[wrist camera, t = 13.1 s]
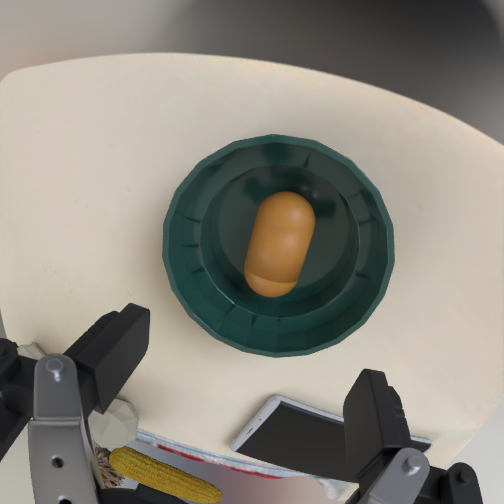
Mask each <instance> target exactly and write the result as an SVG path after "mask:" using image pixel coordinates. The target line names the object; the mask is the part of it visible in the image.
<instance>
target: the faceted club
mask: <svg viewBox="0 0 504 504" xmlns="http://www.w3.org/2000/svg"><path fill="white" fill-rule="evenodd" d="M14 344H15V345H16V347H17V351H18V354H19V355H22V356H25V357H29V358H32V359H36V360H39V359H41V358H42V357H44V356H46V355H45V354H44V353H43V352H42V350H41V349H40V348H39V347H38V345H37V344H36V343H35V342H32V343H31V345H21V346H19V347H18V345H17V344H16V342H14ZM88 419H89V424H90V429H91V435H92V438H93V439H94V440H95V441H96V442H97V444H98V445H99V446H100V447H101V448H121V447H123V446H125V445H127V444H128V443H130V442H132V441H133V440H135V439H136V434H137V427H138V420H139V417H138V415H137V414H136V412H135V410H134V408H133V406H132V404H131V403H129V402H126V401H123V400H120V399H114V400H113V401H112V403H111V404H110V406H109V407H108V409H107V410H106V412H105V413H104V415H102V414H100V413H98V412H96V411H94V410H93V411H92V413H91V414H90V416H89V417H88Z"/></svg>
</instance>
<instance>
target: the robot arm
mask: <svg viewBox="0 0 504 504" xmlns="http://www.w3.org/2000/svg"><path fill="white" fill-rule="evenodd" d="M149 327H150V310H149V309H147V308H144V307H141V306H138V305H136V304H133V303H129V304H128V305H127V306H126V307H125V308H124V309H123V310H122V311H121V312H120V313H119V312H117V311H112V312H110V313H108V314H105V315H103V316H102V317H101V318H100V319H98V320H97V321H96V322H95V323H94V325H92V326H91V327H90V328H89V329H88V331H86V332H85V333H84V334H83V335H82V336H81V337H80V338H79V339H78V340H77V341H76V342H75V343H74V344H73V345H72V346H71V347H70V348H69V349H68V350H67V351H66V352H65V353H63V354H48V355H46V356H44V357H42V358H41V359H39V360H36V359H32V358H29V357H25V356H22V355H19V354H18V351H17V347H16V345H15V344H14V343H13V342H12V341H10V340H8V339H3V338H0V462H1V460H2V459H3V457H4V456H5V454H6V453H7V451H8V450H9V448H10V447H11V445H12V444H13V443H14V441H15V440H16V438H17V437H18V435H19V434H20V433H21V431H22V430H23V428H24V427H25V426H26V424H27V423H28V446H29V460H30V470H31V479H32V486H33V493H34V499H35V504H188V503H186V502H184V501H183V500H181V499H179V498H177V497H176V496H173V495H170V494H167V493H164V492H162V491H159V490H156V489H154V488H151V487H148V486H146V485H143V484H141V483H139V484H138V486H137V488H136V490H134V489H128V488H105V485H104V482H103V479H102V475H101V472H100V469H99V466H98V462H97V458H96V454H95V449H94V445H93V440H92V435H91V429H90V424H89V419H88V417H89V416H90V414H91V413H92V411H93V410H94V411H96V412H98V413H100V414H102V415H104V413H105V412H106V410H107V409H108V407H109V406H110V404H111V403H112V401H113V400H114V399H115V397H116V396H117V394H118V393H119V391H120V390H121V388H122V387H123V386H124V384H125V383H126V381H127V380H128V378H129V377H130V375H131V374H132V373H133V371H134V370H135V368H136V367H137V366H138V364H139V363H140V361H141V360H142V358H143V357H144V355H145V353H146V351H147V348H148V344H149ZM31 417H33V420H30V419H31ZM343 418H344V430H345V443H346V459H347V479H348V481H350V482H359V488H358V489H357V490H356V491H355V492H354V493H353V494H352V495H351V497H350V498H349V499H348V500H347V501H346V502H345V504H483V501H482V496H481V492H480V488H479V484H478V480H477V476H476V473H475V471H474V470H473V469H472V467H470V466H469V465H468V464H466V463H461V462H459V463H455V464H454V465H452V467H450V468H449V469H448V470H444V469H440V468H437V467H433V466H430V465H429V461H428V459H427V457H426V456H425V455H424V454H423V453H422V452H420V451H419V450H417V449H414V448H413V444H412V440H411V436H410V432H409V429H408V425H407V421H406V418H405V414H404V410H403V409H402V403H401V400H400V396H399V395H398V394H397V392H396V391H395V390H394V388H393V387H392V386H388V383H387V380H386V376H385V373H384V372H382V371H376V370H371V369H363V370H362V372H361V373H360V375H359V376H358V378H357V380H356V382H355V383H354V385H353V386H352V388H351V390H350V391H349V393H348V395H347V396H346V398H345V401H344V405H343Z"/></svg>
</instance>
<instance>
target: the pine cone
mask: <svg viewBox="0 0 504 504" xmlns="http://www.w3.org/2000/svg"><path fill="white" fill-rule="evenodd" d="M95 449H96V450H95V454H96V458H97V462H98V466H99V469H100V472H101V475H102V479H103V482H104V485H105V488H116V487H115V486H117V485H118V486H121V485H120V484H122V481H121V479H125V478H124V475H122V474H120V473H119V472H118V471H116V470H115V469H113V467H112V466H111V465H110V464H109V463H108V461H109V459H110V458H109V456H110V454H111V453H112V452H110V451H108V449H107V450H106V451H104V450H103V449H102V448H100V449H99V448H98V449H97V447H95Z"/></svg>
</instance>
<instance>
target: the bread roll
mask: <svg viewBox="0 0 504 504" xmlns="http://www.w3.org/2000/svg"><path fill="white" fill-rule="evenodd" d="M314 227H315V215H314V211H313V209H312V207H311V205H310V204H309V202H308V201H307V200H306V199H305V198H304V197H302V196H301V195H299V194H297V193H294V192H289V191H282V192H277V193H274V194H272V195H270V196H269V197H267V198H266V199H265V200H264V201H263V202H262V203H261V205H260V207H259V209H258V212H257V214H256V219H255V223H254V227H253V231H252V235H251V239H250V243H249V247H248V251H247V256H246V260H245V265H244V274H245V278H246V281H247V283H248V284H249V286H250V287H251V288H252V289H253V290H254V291H255V292H256V293H258V294H260V295H262V296H265V297H279V296H283V295H284V294H286V293H288V292H289V291H291V290H292V289H293V288H294V286H295V285H296V284H297V281H298V279H299V277H300V273H301V270H302V267H303V264H304V261H305V258H306V255H307V251H308V248H309V245H310V242H311V238H312V235H313V232H314Z"/></svg>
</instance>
